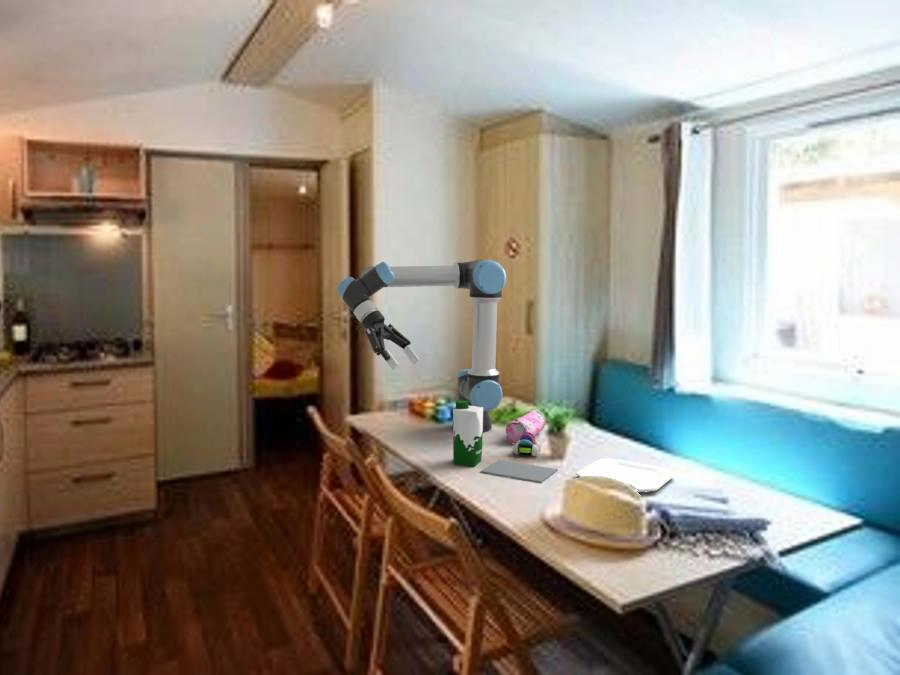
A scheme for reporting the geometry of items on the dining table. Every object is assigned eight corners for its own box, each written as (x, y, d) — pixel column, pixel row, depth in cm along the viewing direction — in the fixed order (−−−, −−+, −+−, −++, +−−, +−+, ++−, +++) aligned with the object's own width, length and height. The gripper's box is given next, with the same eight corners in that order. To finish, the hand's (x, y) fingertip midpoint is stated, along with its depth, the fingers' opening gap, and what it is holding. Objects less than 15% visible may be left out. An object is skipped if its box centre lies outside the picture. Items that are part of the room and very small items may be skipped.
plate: (602, 462, 230) (602, 456, 229) (679, 477, 216) (679, 470, 215) (570, 482, 209) (570, 475, 209) (652, 499, 195) (652, 492, 195)
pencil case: (526, 447, 247) (527, 421, 246) (502, 443, 251) (503, 418, 250) (547, 433, 266) (548, 410, 265) (524, 430, 270) (525, 407, 269)
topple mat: (480, 472, 217) (480, 470, 216) (499, 461, 229) (499, 459, 229) (541, 483, 207) (541, 481, 207) (557, 470, 220) (557, 469, 219)
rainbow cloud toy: (542, 451, 241) (542, 430, 240) (536, 459, 232) (536, 437, 231) (518, 449, 244) (518, 428, 243) (511, 456, 235) (511, 435, 234)
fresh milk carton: (458, 457, 232) (459, 398, 230) (485, 460, 229) (486, 400, 227) (449, 465, 224) (450, 403, 222) (476, 468, 221) (477, 405, 218)
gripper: (382, 321, 252) (418, 367, 247) (341, 326, 230) (379, 376, 225) (395, 307, 249) (431, 353, 244) (355, 311, 227) (393, 361, 222)
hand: (406, 364), depth 235 cm, fingers open, 13 cm apart
